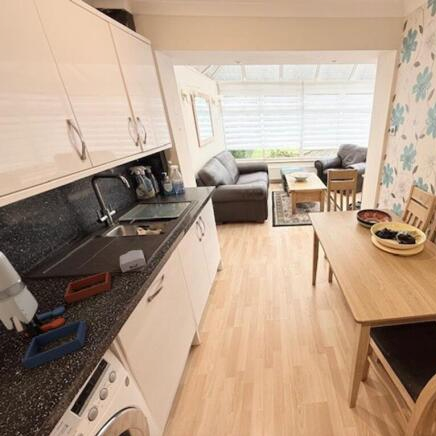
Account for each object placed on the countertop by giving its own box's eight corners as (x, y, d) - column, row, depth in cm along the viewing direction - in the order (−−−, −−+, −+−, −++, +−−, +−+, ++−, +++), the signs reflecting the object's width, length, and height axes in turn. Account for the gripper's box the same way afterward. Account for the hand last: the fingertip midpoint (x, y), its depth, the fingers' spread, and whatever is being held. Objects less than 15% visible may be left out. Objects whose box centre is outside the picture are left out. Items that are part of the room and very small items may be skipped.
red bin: (69, 304, 90) (64, 296, 88) (73, 290, 97) (68, 283, 95) (110, 290, 96) (106, 282, 94) (111, 278, 103) (108, 270, 101)
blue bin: (29, 371, 67) (22, 362, 65) (39, 346, 74) (32, 337, 72) (83, 348, 72) (78, 339, 71) (87, 327, 80) (82, 318, 78)
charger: (143, 251, 121) (146, 265, 110) (122, 258, 117) (123, 273, 106) (140, 243, 119) (143, 257, 108) (118, 250, 115) (119, 265, 104)
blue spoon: (29, 327, 81) (26, 323, 81) (32, 320, 84) (30, 316, 83) (65, 314, 86) (63, 310, 85) (67, 307, 89) (65, 304, 88)
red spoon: (26, 340, 76) (23, 337, 76) (30, 332, 79) (27, 329, 78) (64, 326, 81) (62, 322, 80) (66, 319, 84) (64, 315, 83)
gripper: (-1, 280, 75) (30, 322, 83) (-26, 312, 63) (13, 357, 71) (31, 271, 79) (58, 312, 87) (13, 300, 67) (46, 344, 75)
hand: (38, 332), depth 79 cm, fingers closed on red spoon, 1 cm apart
